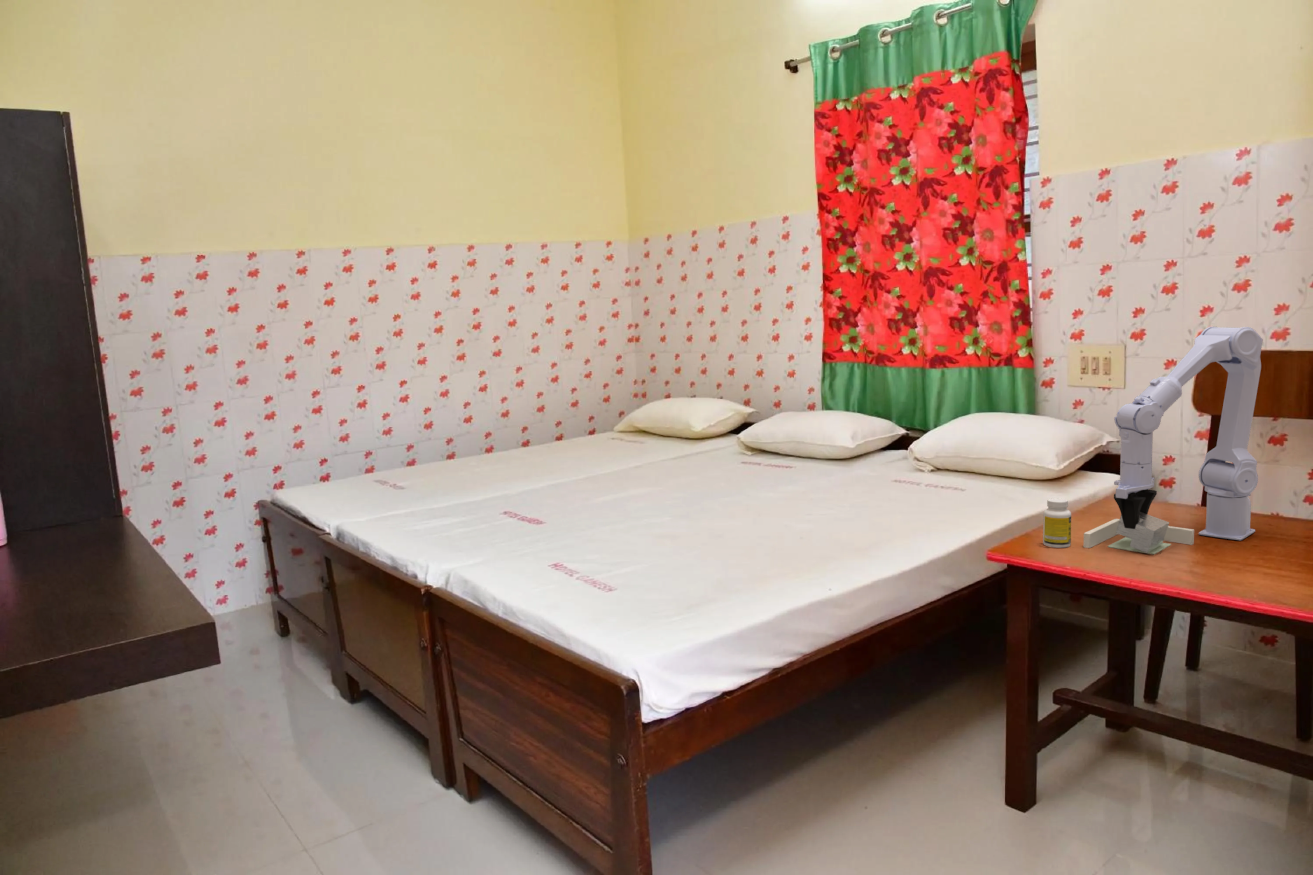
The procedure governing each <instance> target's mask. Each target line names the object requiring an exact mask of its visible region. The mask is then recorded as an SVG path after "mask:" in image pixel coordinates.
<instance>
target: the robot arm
mask: <svg viewBox="0 0 1313 875" xmlns="http://www.w3.org/2000/svg"><path fill="white" fill-rule="evenodd" d="M1263 341H1264V339H1263V337H1261V336H1260V334H1259V333H1258V332H1257V331H1256V330H1255V329H1254V328H1253V327H1250V326H1241V327H1228V326H1226V327H1225V326H1223V327H1222V326H1220V327H1218V326H1209V327H1206V328H1205V329H1204V330H1202V332H1200V334H1199V335H1198V336H1196V337H1195V338H1194V345H1193V346H1192V347H1191V348H1190V350H1189V351H1188V352H1187V353H1186V354H1185V355H1184V357H1182V359H1181V360H1180V361H1179V362H1178V363H1177V364H1176V366H1175V367H1174V368H1173V369H1172V370H1171V371H1170V373H1168V375H1166V376H1159V377H1156V378H1152V380H1151V381H1149V384H1150V385H1148V386H1147V387H1146V388H1145V389H1144V390H1143V391H1142V392H1141V393H1140V394H1139V395H1137V396H1136V397H1135V398H1134V399H1133V401H1132V402H1130V403H1126V404H1124V405H1122V406H1121V407H1120V408H1119V409H1118V411H1117V413H1116V416H1114V418H1113V419H1114V423H1115V426H1116V427H1117V429H1118V436H1119V437H1120V459H1119V460H1120V465H1119V466H1120V467H1119V468H1120V470H1119V471H1120V472H1119V474H1120V475H1119V476H1120V477H1119V479H1117V480H1114V481H1113V485H1115V486H1117V487H1115V493H1113V499H1114V501H1115V503H1116V504H1117V506H1118V508H1119V511H1120V516H1121V515H1122V519H1123V523H1124V527H1125V528H1130V529H1135V528H1136V524H1138V520H1139V513H1140V512H1142V513H1145V514H1148V515H1149V512H1150V511H1149V510H1150V507H1151V505H1152V502H1153V500H1154V499H1155V497H1156V496H1157V494H1158V493H1157V492H1158V491H1157V490H1154V489H1152V488H1154V487H1155V477H1153V471H1152V470H1153V441H1154V440H1153V439H1154V437H1153V436H1154V432H1155V431H1156V430H1158V429H1159V428H1160V425H1161V423H1162V422H1161V421H1162V418H1163V417H1164V414H1165V413H1166V412H1167V411H1168V409H1169V408H1170V407H1172V406H1173V404H1175V403H1176V402H1177V401H1178V399H1180V398H1181V397H1182V394H1183V391H1182V390H1183V389H1182V387H1184V386H1185V385H1186V384H1187V383H1188V382H1190V380H1192V379H1193V378H1194V377H1195V376H1196V375H1198V374H1199V373H1200V372H1202V370H1203V369H1204V368H1206V367H1207V366H1208V365H1210V364H1211V363H1215V362H1216V363H1217V364H1218V365H1221V366H1222V368H1223V369H1224V370H1225V371H1226V372H1227V380H1226V388H1225V391H1224V398H1223V403H1222V405H1223V406H1222V410H1221V416H1220V422H1219V428H1218V434H1217V441H1216V446H1215V447H1214V448H1212V449H1211V450H1209V451H1208V452H1207V453H1206V454H1205V457H1204V461H1203V463H1202V464H1201V466H1200V468H1199V471H1198V480H1199V482H1200V484H1201V485H1202V486H1203V487H1204V491H1205V492H1207V493H1206V516H1205V518H1206V519H1205V528H1204V529H1202V530H1201V531H1199V532H1198V535H1199V536H1206V537H1213V538H1219V539H1226V540H1227V539H1228V540H1235V541H1243V540H1244V539H1246V538H1247V537H1249V536H1250V535H1252V534H1254V533H1255V532H1256V529H1254V528H1251V518H1252V516H1251V514H1252V513H1251V512H1252V501H1251V499H1250V498H1249V497H1250V496H1252V495H1251V494H1252V493H1253V492H1254V490H1255V489H1256V488H1257V486H1258V482H1259V475H1258V471H1257V470H1258V469H1257V465H1258V460H1257V459H1256V458H1255V457H1254V456H1253V455H1252V453H1250V452H1249V450H1248V446H1249V440H1250V436H1251V434H1250V433H1251V430H1252V429H1251V428H1252V422H1253V418H1254V412H1255V406H1256V400H1257V393H1258V389H1259V388H1258V387H1259V382H1260V376H1261V370H1262V362H1261V352H1262V348H1263V347H1262V346H1263Z"/></svg>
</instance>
